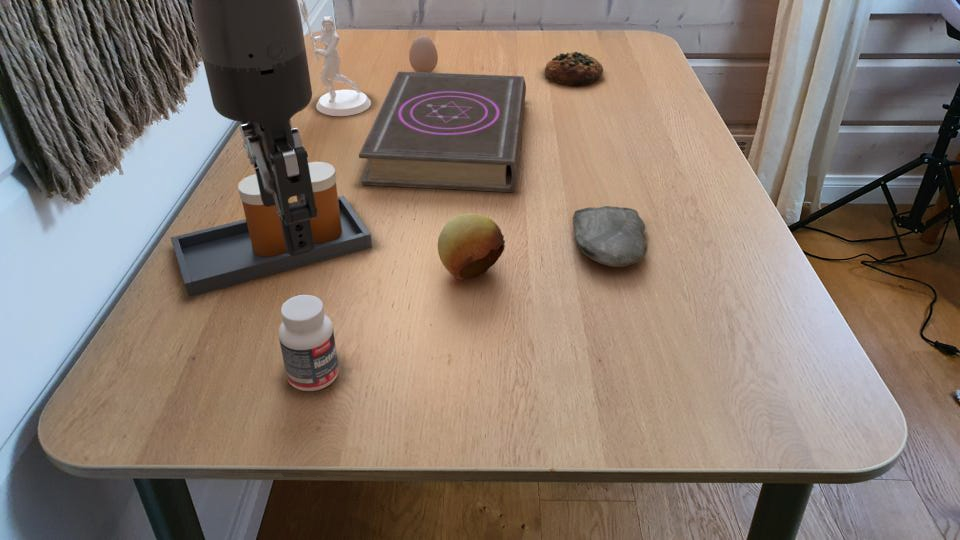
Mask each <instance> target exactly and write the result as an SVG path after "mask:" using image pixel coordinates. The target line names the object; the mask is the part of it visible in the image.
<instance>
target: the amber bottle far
mask: <svg viewBox="0 0 960 540" xmlns="http://www.w3.org/2000/svg"><path fill="white" fill-rule="evenodd" d="M308 166H309V171H310V177H311V183H312V189H313V195H314V200H315V206H316V208H317V218H314V219H310V224H311V230H312V236H313V242H314V243H326V242H330V241H333V240H335V239H337V238H338V237H339V236H340V235H341V233H342V225H341V218H340V210H339V203H338V197H339V195H338V189H337V188H338V187H337V175H336V169H335V167H334V165H332V164H330V163H328V162H325V161H308ZM296 201H300V198H299V195H297V196H296Z"/></svg>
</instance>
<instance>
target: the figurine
mask: <svg viewBox="0 0 960 540" xmlns="http://www.w3.org/2000/svg"><path fill="white" fill-rule="evenodd" d="M299 9H300V13H301V16H302V19H303V20H304V22H305V23H306V25H307V28H308V31H309V35H310V40H311V42H312V46H313V48H314V54H315V57H316V59H317V60H318V61H319V60H320V56H322V57H324V58H323V69H322V71H321V73H320V80H321V83H322V85H323V86H325V88H326V90H327V91H328V92H326V93H324V94H323V95H321V96H320V98H319V99H318V101H317V103H316V105H315V107H316V110H317V111H318V112H319V113H321V114H323V115H327V116H332V117H348V116H353V115H358V114H360V113H363V112H365V111H367V110H368V109H369V108H370V107H371V105H372V101H371V99H370V98H369V97H368V96H367V95H366V94H365V93H364V92H362V91H360V89H359V86H358V83H357V82H355V81H353V80H350V79H349V77H348V76H345V75H343V74H340V65H341V58H340V56H339V52H338V48H337V47H338V43H339V41H340V36H339V34H338V32H337V31H336V28H335V27H336V26H335V19H334V18H332V17H331V16H330V15H328V16H327V15H325V16H323V19H322V18H321V20H320V21H321V26H322V28H321V30H320V35H318V36H314V33H313V32H312V29H311V26H310V22H309V19H308V17H309V13H308V8H307V4H306V1H305V0H301V2H300V3H299ZM321 42H322V44H323V45H324V46H325V47H324V49H322V48H317V47H316V46H317V45H316V43H321ZM334 82H339V83H342V84H344V85H349V86H350V88H352V89H336V90H335V88H334Z"/></svg>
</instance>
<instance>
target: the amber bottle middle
mask: <svg viewBox="0 0 960 540" xmlns="http://www.w3.org/2000/svg"><path fill="white" fill-rule="evenodd" d="M237 189H238V194H239V198H240V200H241V203H242V207H243V211H244V217H245V219H246V221H247V226H248V230H249V235H250V239H251V244H252V248H253V251H254V252H255V253H256V254H257V255H260V256H264V257H273V256H277V255H281V254H284V253H286V252H287V250H286V246H285V241H284V236H283V231H282V226H281V221H280V217H278V215H277V211H278V210H277V207H276V205H274V206H270V207H266V206H265V205H264V204H263V202H262V200H261V196H260V191H259V186H258V181H257V176H256V173H254V174H251V175H248V176H246V177H244V178H243V179H241V180H240V181H239V183H238V184H237Z"/></svg>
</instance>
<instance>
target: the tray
mask: <svg viewBox="0 0 960 540" xmlns="http://www.w3.org/2000/svg"><path fill="white" fill-rule="evenodd" d="M338 203H339V210H340V218H341V225H342V233H341V235H340V236H339V237H338V238H337V239H335V240H333V241H330V242H326V243H314V249H313V250H312V251H310V252H307V253H304V254H300V255H296V256H290V255H289V254H288V252H286V253H284V254H281V255H277V256H273V257H264V256H260V255H257V254H256V253H255V252H254V251H253V248H252V244H251V239H250V235H249V230H248V226H247V221H246V218H245V219H241V220H237V221H233V222H229V223H225V224H220V225H217V226H212V227H207V228H204V229H201V230H195V231H193V232H192V231H191V232H188V233H184V234H179V235H175V236H171V237H170V241H171V244H172V247H173V250H174V251H173V252H174V254H175V258H176V261H177V264H178V267H179V271H180V273H181V277H182V280H183V284H184V287H185V290H186V293H187V294H186V295H187V297H188V298H191V297H195V296H199V295H203V294H206V293H209V292H213V291H216V290H217V291H218V290H220V289H224V288H227V287H228V288H229V287H232V286H235V285H240V284H242V283H246V282H249V281H253V280H257V279H261V278H264V277H267V276H271V275H272V276H273V275H275V274H279V273H282V272H286V271H290V270H293V269H298V268H301V267H305V266H308V265H313V264H315V263H318V262H323V261H326V260H330V259H334V258H337V257H341V256H344V255H348V254H351V253H356V252H359V251H362V250H366V249H370V248H373V243H372V234H371V233H370V231H369V229H368V228H367V227H366V225H365V224H364V223H363V221H362V220H361V218H360V216H359V215H358V214H357V213H356V211H355V209H354V208H353V207H352V206H351V203H350V202H349V200H348V199H347V198H346V196H345V195H340V196H339V195H338Z"/></svg>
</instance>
